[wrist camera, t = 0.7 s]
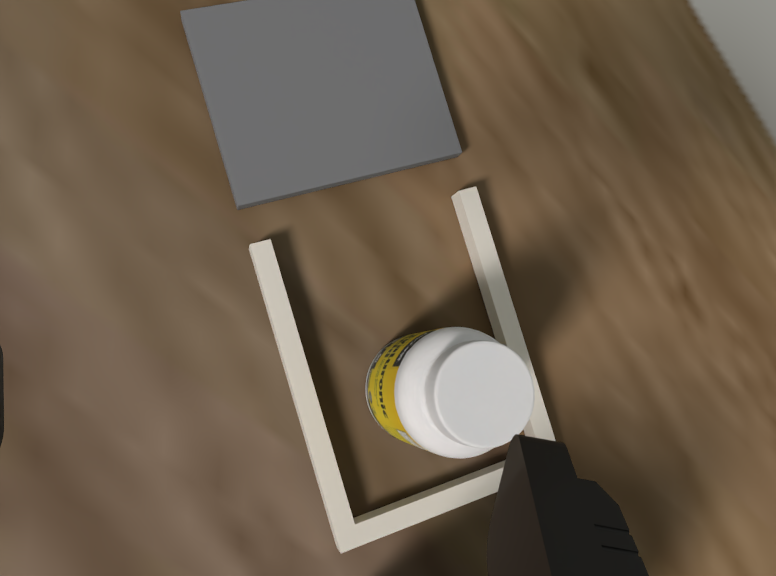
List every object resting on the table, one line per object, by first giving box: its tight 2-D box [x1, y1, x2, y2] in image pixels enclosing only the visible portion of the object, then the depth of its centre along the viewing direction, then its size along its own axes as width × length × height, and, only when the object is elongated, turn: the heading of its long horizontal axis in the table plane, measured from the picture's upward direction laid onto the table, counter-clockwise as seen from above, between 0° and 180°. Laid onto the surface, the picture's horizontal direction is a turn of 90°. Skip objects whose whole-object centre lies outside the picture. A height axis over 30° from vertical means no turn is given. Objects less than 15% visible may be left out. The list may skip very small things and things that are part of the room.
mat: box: [180, 0, 462, 210], centre depth 35 cm, size 10×12×1 cm
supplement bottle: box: [366, 327, 535, 458], centre depth 30 cm, size 5×5×10 cm
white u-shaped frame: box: [249, 187, 556, 553], centre depth 34 cm, size 15×12×1 cm
